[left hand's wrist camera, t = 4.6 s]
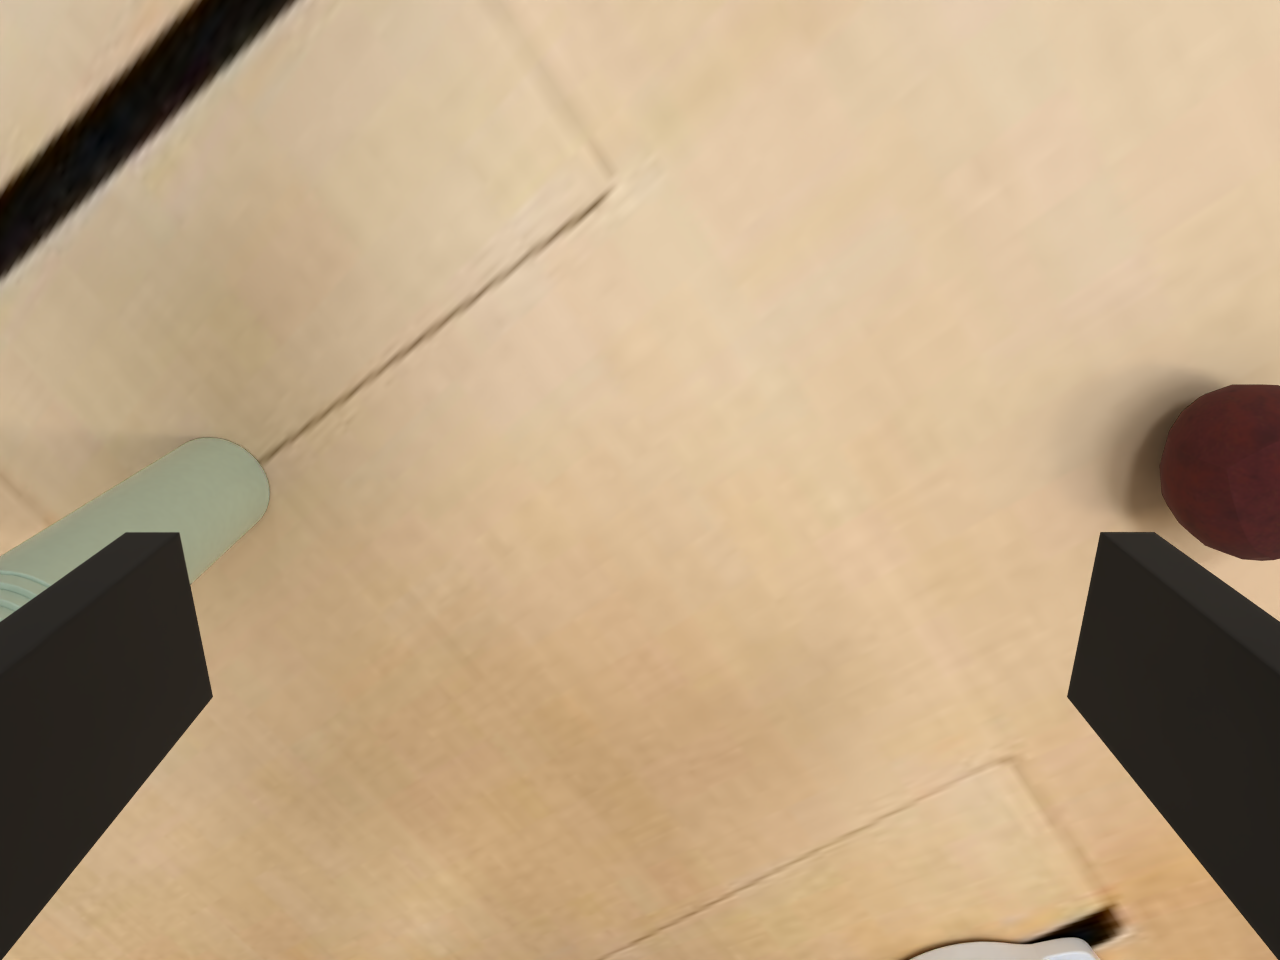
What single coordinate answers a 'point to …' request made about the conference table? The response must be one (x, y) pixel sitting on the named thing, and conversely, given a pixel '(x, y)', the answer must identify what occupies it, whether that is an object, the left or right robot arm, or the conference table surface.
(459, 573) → the conference table surface
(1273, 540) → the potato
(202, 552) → the bottle
